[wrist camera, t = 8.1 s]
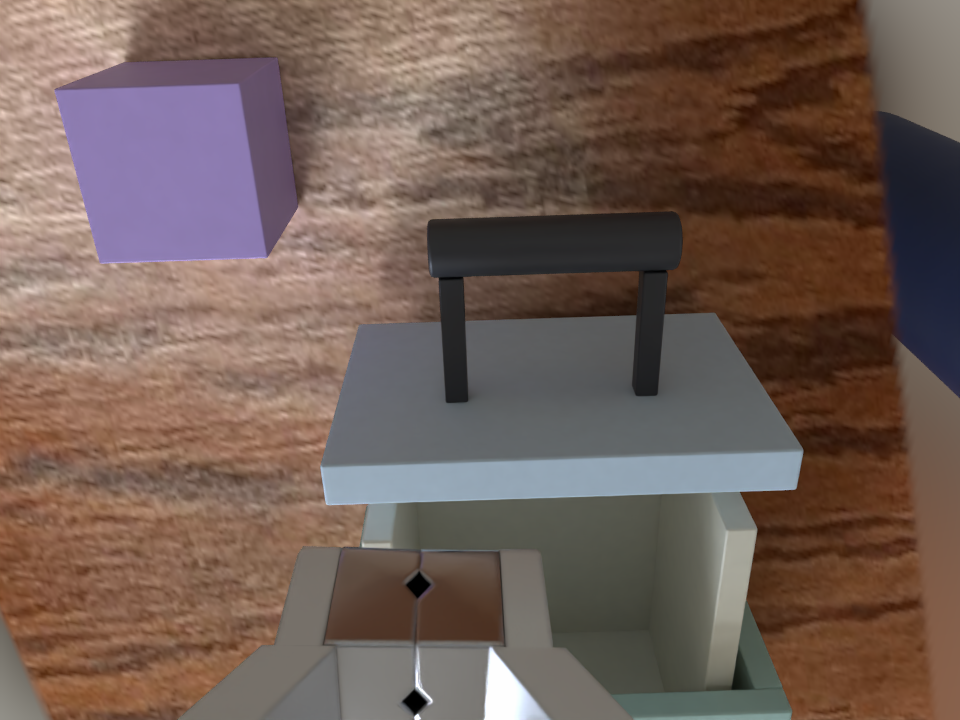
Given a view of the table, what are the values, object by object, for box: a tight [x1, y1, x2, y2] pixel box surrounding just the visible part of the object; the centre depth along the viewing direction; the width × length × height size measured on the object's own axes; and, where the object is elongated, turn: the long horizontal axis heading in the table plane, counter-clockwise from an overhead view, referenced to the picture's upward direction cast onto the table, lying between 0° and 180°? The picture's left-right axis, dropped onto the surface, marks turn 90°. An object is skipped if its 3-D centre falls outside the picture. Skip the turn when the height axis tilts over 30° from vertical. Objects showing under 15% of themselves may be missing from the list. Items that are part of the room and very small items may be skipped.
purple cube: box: [55, 57, 298, 263], centre depth 22 cm, size 4×4×4 cm
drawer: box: [320, 211, 803, 694], centre depth 25 cm, size 18×11×8 cm, turn 2°
